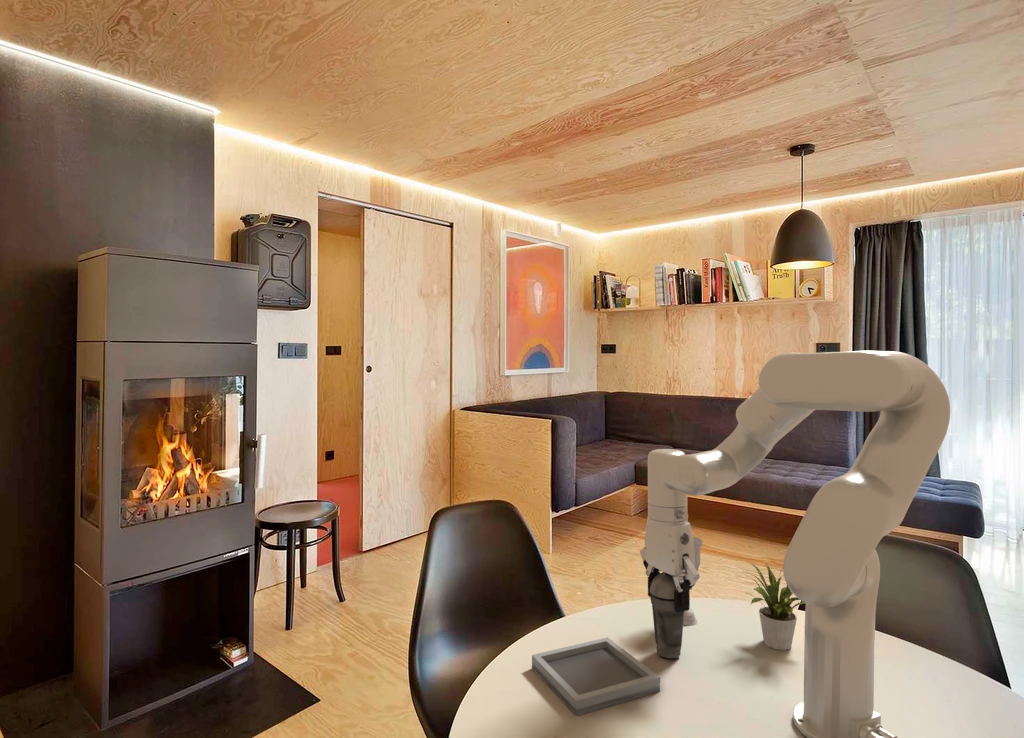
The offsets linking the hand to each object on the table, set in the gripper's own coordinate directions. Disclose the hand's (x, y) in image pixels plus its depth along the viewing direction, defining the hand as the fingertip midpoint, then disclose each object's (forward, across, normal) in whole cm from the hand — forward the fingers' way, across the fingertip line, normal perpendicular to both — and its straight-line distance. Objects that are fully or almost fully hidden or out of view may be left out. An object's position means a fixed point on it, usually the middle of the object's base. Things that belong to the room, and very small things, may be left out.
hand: (668, 602), depth 113 cm
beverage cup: (+10, 0, 0) cm, 10 cm away
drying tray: (+10, -1, +18) cm, 21 cm away
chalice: (+11, +11, -14) cm, 20 cm away
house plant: (+11, -4, -23) cm, 26 cm away
